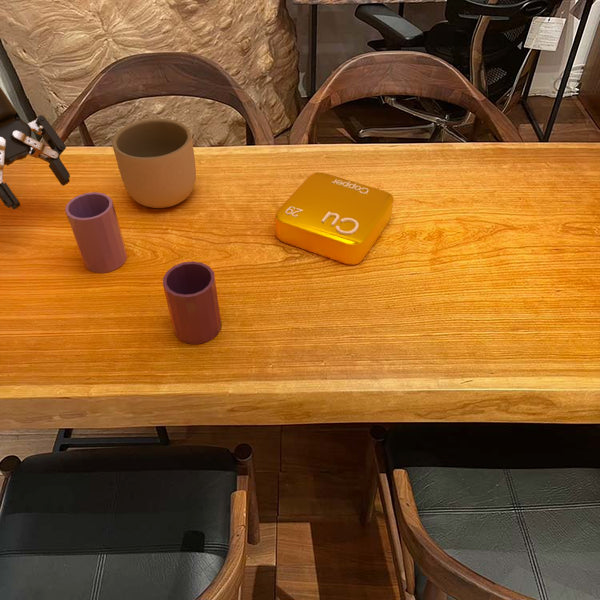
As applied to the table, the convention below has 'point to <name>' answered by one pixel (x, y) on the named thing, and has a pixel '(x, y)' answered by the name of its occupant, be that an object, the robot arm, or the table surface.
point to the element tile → (334, 217)
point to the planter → (156, 161)
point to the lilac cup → (97, 231)
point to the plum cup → (192, 302)
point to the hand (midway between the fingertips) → (42, 195)
